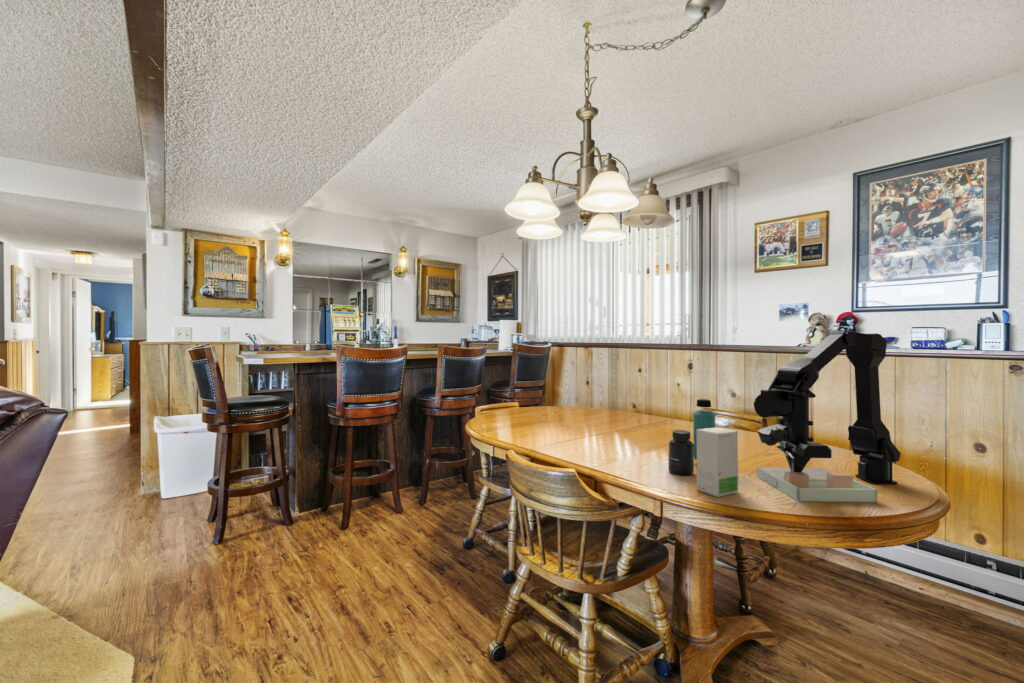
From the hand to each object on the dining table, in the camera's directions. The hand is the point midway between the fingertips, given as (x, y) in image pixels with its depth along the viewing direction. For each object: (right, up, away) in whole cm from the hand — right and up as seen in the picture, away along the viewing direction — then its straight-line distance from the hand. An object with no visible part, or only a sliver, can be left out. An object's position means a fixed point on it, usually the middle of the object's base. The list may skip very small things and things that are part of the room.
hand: (795, 476), depth 110 cm
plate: (+5, -3, +6) cm, 9 cm away
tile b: (-1, -1, -1) cm, 2 cm away
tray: (+5, -3, -4) cm, 7 cm away
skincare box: (-20, -4, 0) cm, 20 cm away
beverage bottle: (-13, -4, +24) cm, 27 cm away
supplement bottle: (-23, -4, +15) cm, 28 cm away
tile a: (+9, -1, -1) cm, 10 cm away
